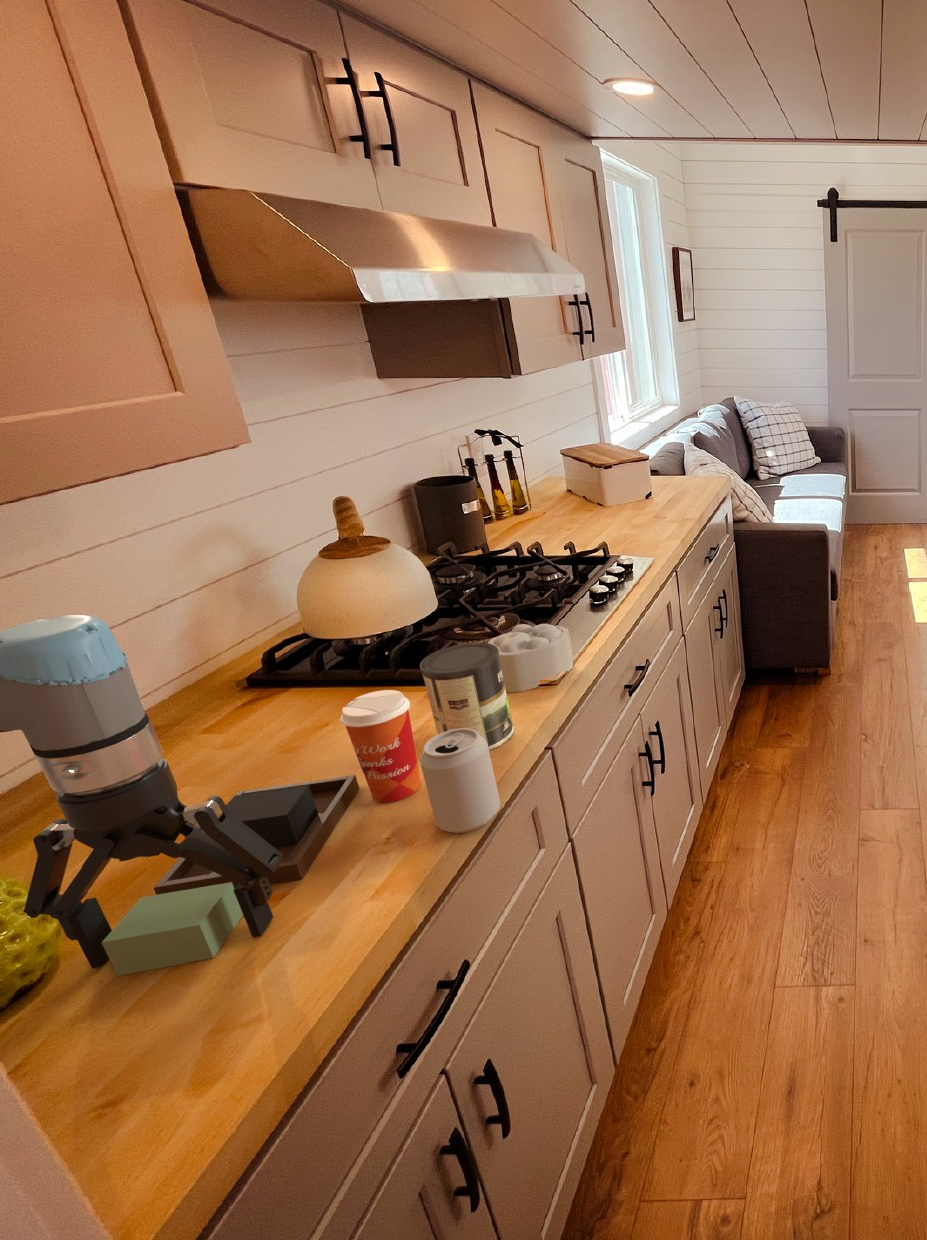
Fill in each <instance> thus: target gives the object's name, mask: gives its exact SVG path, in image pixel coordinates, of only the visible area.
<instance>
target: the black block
mask: <svg viewBox="0 0 927 1240" xmlns="http://www.w3.org/2000/svg"><path fill="white" fill-rule="evenodd" d="M229 801H230V802H229ZM229 801H228V802H229V803H228V802H227V803H228V804H227V803H226V804H225V805H226V807H227V808H228V810H229V812H230V813H231V814H233V815H234V816H235V817H236V818H238V819H239V820H240V821H241V822H243V823H244V824H245V825H247V826H248V827H249V828H250V829H252V830H253V831H254V832H255V833H257V834H258V835H259V836H261V837H262V838H263V839H264V840H266V841H267V842H268V843H269V844H271V845H272V846H273V847H275V848H277V847H283V846H289V845H296V844H298V842H299V841H300V839H301V838H302V836H303V835H304V833H305V832H306V830H307V829H308V827H309V826H310V825H311V823H312V822H313V820H314V819H315V817H316V816H317V814H318V812H317V809H316V806H315V802H314V799H313V796H312V793H311V790H310V787H309V785H306V786H299V787H292V788H285V789H278V790H271V791H264V792H257V793H250V794H243V795H236V796H234V795H233V796H232V798H230V800H229Z"/></svg>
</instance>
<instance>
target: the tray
mask: <svg viewBox="0 0 927 1240" xmlns="http://www.w3.org/2000/svg"><path fill="white" fill-rule="evenodd" d="M306 785H309V787H310V790H311V793H312V796H313V799H314V802H315V806H316V809H317V812H318V814H317V816H316V817H315V819H314V820H313V822H312V823H311V825H310V826H309V827H308V829H307V830H306V832H305V833H304V835H303V836H302V838H301V839H300V841H299V842H298V844H296V845H289V846H283V847H277V848H276V849H277V850H278V851H280V852H281V853H282V854H283V855H284V858H283V860H282V861H281V863H280V864H279V866H278V867H277V869H276V870H275V871H274V873H273V874H272V875H271V876H270V877H267V878H268V880H269V883H270V886H272V885H277V884H282V883H289V882H293V881H301V880H303V879H304V877H305V875H306V874H307V872H308V870H309V869H310V867H311V866H312V865H313V863H314V861H315V860H316V858H317V857H318V855H319V853H320V852H321V851H322V849H323V847H324V845H325V844H326V842H327V840H328V839H329V838H330V836H331V834H332V833H333V831H334V829H336V826H337V825H338V823H339V822H340V820H341V818H342V817H343V816H344V814H345V812H346V811H347V809H348V807H349V806H350V805H351V802H352V801H353V800H354V798H355V797H356V795H357V794H358V792H359V790H360V786H359V782H358V778H357V775H356V774H352V775H345V776H338V777H332V778H324V779H318V780H316V779H315V780H310V781H302V782H296V783H289V784H282V785H275V786H268V787H267V786H266V787H260V788H259V787H258V788H254V789H245V790H239V791H237V792H236V793H235V794H234V795H233V797H234V796H236V795H243V794H250V793H257V792H264V791H271V790H278V789H285V788H292V787H299V786H306ZM229 802H230V800H229V801H228V802H227V803H226V805H227V804H228V803H229ZM203 833H204V831H203ZM247 870H248V869H246V871H247ZM230 882H232V884H233V886H234V889H235V887H236V886H237V884H238V883H237V882H235V881H233V880H231V879H228V878H226V877H224V876H222V875H220V874H217V873H215V872H213V871H211V870H209V869H206V868H204V867H202V866H200V865H198V864H195V863H193V862H191V861H189V860H187V859H184V858H182V857H179V858H177V860H176V861H175V863H173V865H172V866H171V867H170V868H169V870H167V871H166V872H165V874H164V875H163V876H162V877H161V879H159V880H158V882H157V883H156V884H155V885H154V886H153V890H154V892H155V895H159V894H165V893H171V892H177V891H183V890H189V889H194V888H200V887H206V886H212V885H218V884H224V883H230Z"/></svg>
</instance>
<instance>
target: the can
mask: <svg viewBox="0 0 927 1240" xmlns="http://www.w3.org/2000/svg"><path fill="white" fill-rule="evenodd" d="M422 747H423V748H422V750H423V752H422V754H421V756H420V758H419V763H420V767H421V771H422V774H423V778H424V782H425V783H424V784H425V786H426V790H427V791H426V792H427V794H428V798H429V802H430V805H431V810H432V814H433V817H434V821H435V825H436V827H437V828H438V829H440V830H441V831H444V832H449V833H453V834H462V833H466V832H467V833H468V832H471V831H474V830H477V829H479V828H481V827H482V826H483V827H484V825H486V824H487V823H488V822H490V821H491V820H492V818H493V817H494V816H496V814H497V813H498V811H499V810H500V807H501V800H500V795H499V791H498V785H497V782H496V776H495V773H494V767H493V763H492V759H491V754H490V750H489V749H488V744H487V741H486V740H485V739H484V738H482V737H481V736H480V735H479V732H477V731H476V730H474V729H469V728H460V729H453V730H449V731H446V732H443V733H441V734H438V733H437V734H436V735H434V736H433V737H431V738H430V739H428V741H426V742H425V744H424V745H423V746H422Z"/></svg>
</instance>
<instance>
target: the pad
mask: <svg viewBox="0 0 927 1240" xmlns="http://www.w3.org/2000/svg"><path fill="white" fill-rule="evenodd" d="M233 890H234V886H233V884H232V882H230V883H224V884H218V885H212V886H206V887H200V888H194V889H189V890H183V891H177V892H171V893H165V894H159V895H156V894H153V895H148V896H141V897H139V899H138V900H137V902H136V903H134V905H133V906H132V907H131V908H130V909H129V911H128V912H127V913H126V914H125V915H124V916H123V917H122V919H121V920H120V921H119V922H118V923H117V924H116V926H115V927H114V928H113V929H112V931H111V932H110V933H109V935H108V936H107V937H106V938H105V939H104V940H103V941H102V945H103V947H104V949H105V951H106V953H107V955H108V957H109V958H108V960H109V961H110V963H111V965H112V967H113V969H114V972H115V973H116V975H117V977H121V976H125V975H126V976H127V975H130V974H131V975H132V974H137V973H141V972H142V973H143V972H147V971H152V970H158V969H162V968H168V967H173V966H179V965H184V964H189V963H194V962H199V961H205V960H210V959H214V958H215V957H216V956H217V954H218V952H219V951H220V950H221V948H222V947H223V945H224V944H225V942H226V941H227V939H228V938H229V937H230V935H231V934H232V932H233V931H234V929H235V928H236V927H237V925H238V924H239V922H240V921H241V920H242V918H243V917H244V915H243V913H242V910H241V908H240V905H239V903H238V901H237V898H236V896H235V893H234V891H233Z"/></svg>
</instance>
